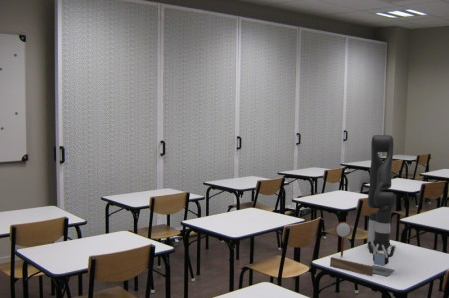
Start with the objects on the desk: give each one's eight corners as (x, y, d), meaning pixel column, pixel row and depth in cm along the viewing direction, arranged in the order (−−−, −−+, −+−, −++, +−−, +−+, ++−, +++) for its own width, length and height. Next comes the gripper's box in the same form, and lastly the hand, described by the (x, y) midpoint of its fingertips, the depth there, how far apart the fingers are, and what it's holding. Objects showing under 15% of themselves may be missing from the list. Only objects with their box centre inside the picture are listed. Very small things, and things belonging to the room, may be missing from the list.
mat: (373, 265, 259) (373, 264, 259) (394, 270, 253) (394, 269, 253) (365, 271, 250) (365, 270, 250) (387, 276, 244) (387, 275, 244)
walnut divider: (331, 265, 258) (331, 257, 258) (372, 275, 245) (373, 266, 245) (330, 266, 257) (330, 257, 256) (371, 276, 244) (371, 267, 244)
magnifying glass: (334, 257, 271) (336, 222, 269) (333, 256, 273) (335, 221, 270) (349, 257, 271) (351, 222, 269) (349, 256, 273) (351, 221, 271)
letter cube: (377, 261, 254) (377, 251, 254) (386, 263, 251) (387, 253, 251) (373, 264, 250) (374, 254, 250) (383, 266, 247) (384, 256, 247)
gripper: (399, 231, 248) (396, 264, 250) (371, 226, 256) (369, 258, 258) (394, 234, 242) (392, 268, 244) (366, 229, 250) (364, 261, 252)
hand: (380, 263), depth 251 cm, fingers closed on letter cube, 5 cm apart
